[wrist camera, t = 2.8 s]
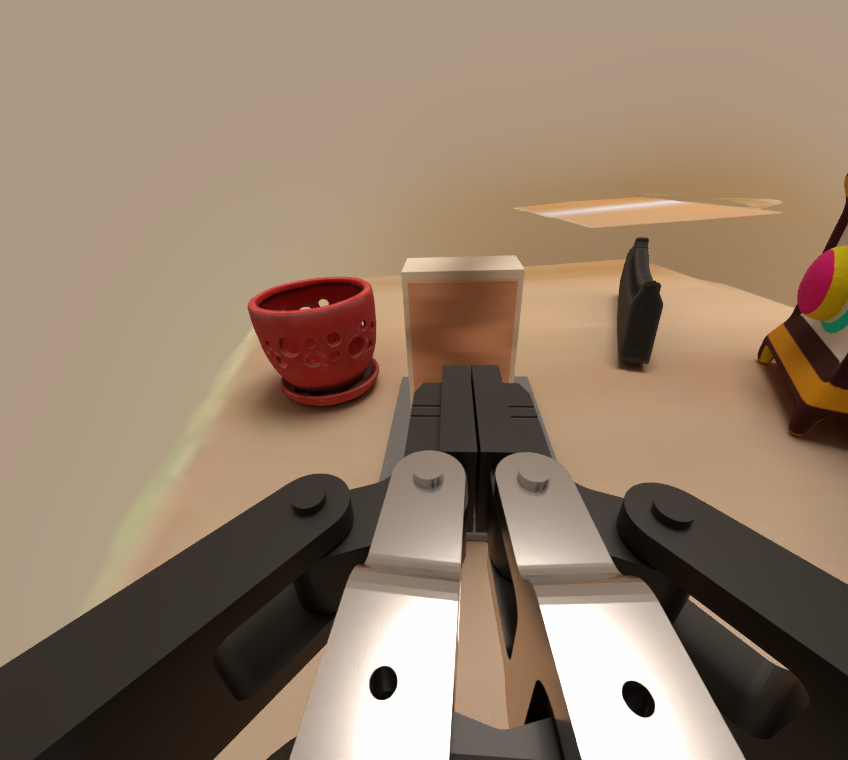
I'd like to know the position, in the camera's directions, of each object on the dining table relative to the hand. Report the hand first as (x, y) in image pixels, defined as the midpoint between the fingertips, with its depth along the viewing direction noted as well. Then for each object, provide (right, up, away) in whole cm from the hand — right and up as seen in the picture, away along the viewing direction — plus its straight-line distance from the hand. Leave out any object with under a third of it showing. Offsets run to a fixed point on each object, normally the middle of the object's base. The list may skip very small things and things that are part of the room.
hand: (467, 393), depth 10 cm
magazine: (+31, +9, +47) cm, 57 cm away
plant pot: (-13, 0, +35) cm, 38 cm away
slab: (+1, -9, +18) cm, 20 cm away
